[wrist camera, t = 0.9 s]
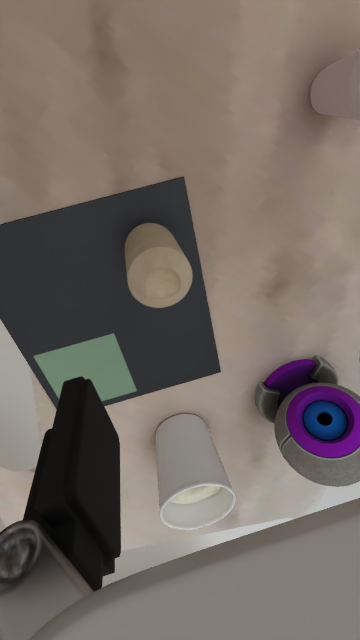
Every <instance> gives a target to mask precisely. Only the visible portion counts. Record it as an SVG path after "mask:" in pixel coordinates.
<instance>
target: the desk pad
mask: <svg viewBox="0 0 360 640" xmlns="http://www.w3.org/2000/svg"><path fill="white" fill-rule="evenodd" d="M145 223H156V224H159V225H162V226H163V227H165V228H166V229H168V230H169V231H170V232H171V234H172V235H173V237H174V238H175V240H176V241H177V243H178V245H179V246H180V248H181V250H182V251H183V253H184V255H185V256H186V258H187V260H188V261H189V263H190V266H191V268H192V275H193V277H192V284H191V287H190V289H189V291H188V292H187V294H186V295H185V296H184V297H183V298H182V299H181V300H180V301H179V302H177V303H175V304H174V305H171V306H168V307H163V308H154V307H149V306H146V305H144V304H142V303H140V302H139V301H138V300H137V299H136V298H135V297H134V296H133V295H132V293H131V291H130V289H129V286H128V281H127V271H126V261H125V242H126V239H127V237H128V235H129V234H130V232H131V231H132V230H133V229H134V228H136V227H137V226H139V225H141V224H145ZM0 319H1V321H2V322H3V324H4V325H5V327H6V328H7V330H8V332H9V333H10V335H11V337H12V338H13V340H14V342H15V343H16V345H17V346H18V348H19V349H20V351H21V353H22V354H23V356H24V357H25V359H26V361H27V362H28V364H29V366H30V367H31V369H32V370H33V372H34V374H35V375H36V377H37V378H38V380H39V382H40V383H41V385H42V387H43V388H44V390H45V391H46V393H47V395H48V396H49V398H50V399H51V401H52V403H53V404H54V406H55V407H56V409H57V407H58V402H59V398H60V394H61V389H62V385H63V382H64V381H66V380H70V379H73V378H77V377H80V376H83V377H84V378H85V380H86V379H90V380H91V381H92V383H93V385H94V387H95V389H96V391H97V393H98V395H99V397H100V399H101V401H102V403H103V405H104V406H107V405H110V404H114V403H117V402H120V401H124V400H127V399H131V398H134V397H137V396H141V395H144V394H148V393H151V392H154V391H158V390H161V389H165V388H168V387H171V386H175V385H178V384H182V383H185V382H189V381H192V380H195V379H199V378H202V377H206V376H209V375H212V374H216V373H219V372H221V370H220V365H219V360H218V355H217V349H216V344H215V339H214V333H213V328H212V323H211V318H210V312H209V307H208V302H207V297H206V291H205V286H204V281H203V275H202V270H201V265H200V260H199V254H198V249H197V244H196V239H195V233H194V228H193V223H192V217H191V212H190V207H189V202H188V196H187V191H186V186H185V180H184V177H180V178H177V179H173V180H169V181H165V182H161V183H157V184H154V185H150V186H146V187H142V188H138V189H135V190H131V191H127V192H123V193H119V194H116V195H112V196H108V197H104V198H100V199H96V200H93V201H89V202H85V203H81V204H77V205H74V206H70V207H66V208H62V209H58V210H54V211H51V212H47V213H43V214H39V215H35V216H32V217H28V218H24V219H20V220H16V221H13V222H9V223H5V224H1V225H0Z"/></svg>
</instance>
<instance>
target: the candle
mask: <svg viewBox="0 0 360 640" xmlns="http://www.w3.org/2000/svg"><path fill="white" fill-rule="evenodd" d="M125 261H126V271H127V281H128V286H129V289H130V291H131V293H132V295H133V296H134V297H135V298H136V299H137V300H138V301H139V302H140V303H142V304H144V305H146V306H149V307H154V308H163V307H168V306H171V305H174V304H175V303H177V302H179V301H180V300H181V299H182V298H183V297H184V296H185V295H186V294H187V292H188V291H189V289H190V287H191V284H192V277H193V275H192V268H191V266H190V263H189V261H188V260H187V258H186V256H185V255H184V253H183V251H182V250H181V248H180V246H179V245H178V243H177V241H176V240H175V238H174V237H173V235H172V234H171V232H170V231H169V230H168V229H166V228H165V227H163V226H162V225H159V224H156V223H145V224H141V225H139V226H137V227H136V228H134V229H133V230H132V231H131V232H130V234H129V235H128V237H127V239H126V242H125Z"/></svg>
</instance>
